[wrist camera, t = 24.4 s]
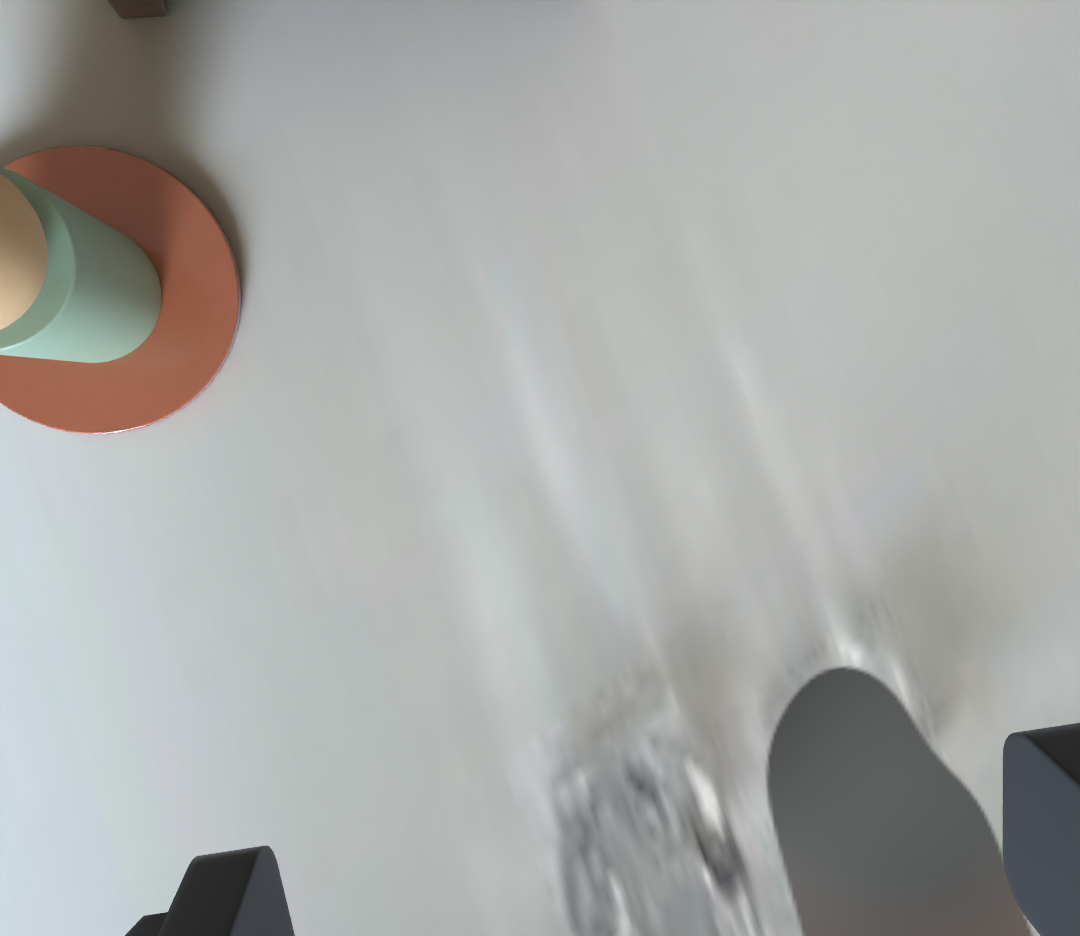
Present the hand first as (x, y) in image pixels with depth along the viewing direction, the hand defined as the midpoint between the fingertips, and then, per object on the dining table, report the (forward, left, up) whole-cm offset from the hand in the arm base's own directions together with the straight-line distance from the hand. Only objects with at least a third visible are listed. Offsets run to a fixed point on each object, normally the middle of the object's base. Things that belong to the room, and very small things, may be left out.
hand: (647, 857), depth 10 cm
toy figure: (+8, -13, -25) cm, 30 cm away
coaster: (+8, -13, -26) cm, 30 cm away
